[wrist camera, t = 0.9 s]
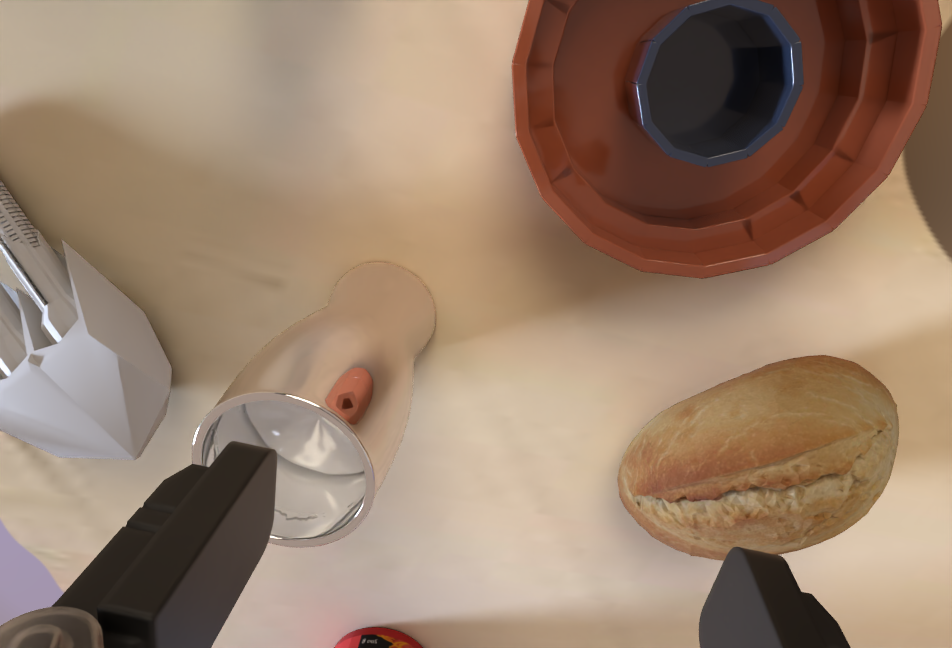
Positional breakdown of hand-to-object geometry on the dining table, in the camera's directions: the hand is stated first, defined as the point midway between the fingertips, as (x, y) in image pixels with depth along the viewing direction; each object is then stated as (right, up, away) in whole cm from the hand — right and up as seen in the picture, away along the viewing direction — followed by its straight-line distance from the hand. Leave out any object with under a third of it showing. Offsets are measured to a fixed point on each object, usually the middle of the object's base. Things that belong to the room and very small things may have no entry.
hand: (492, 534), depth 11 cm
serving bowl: (+10, +15, +18) cm, 25 cm away
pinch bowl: (+10, +15, +18) cm, 25 cm away
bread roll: (+15, -2, +25) cm, 29 cm away
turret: (-25, +5, +26) cm, 37 cm away
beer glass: (-5, +4, +25) cm, 26 cm away
